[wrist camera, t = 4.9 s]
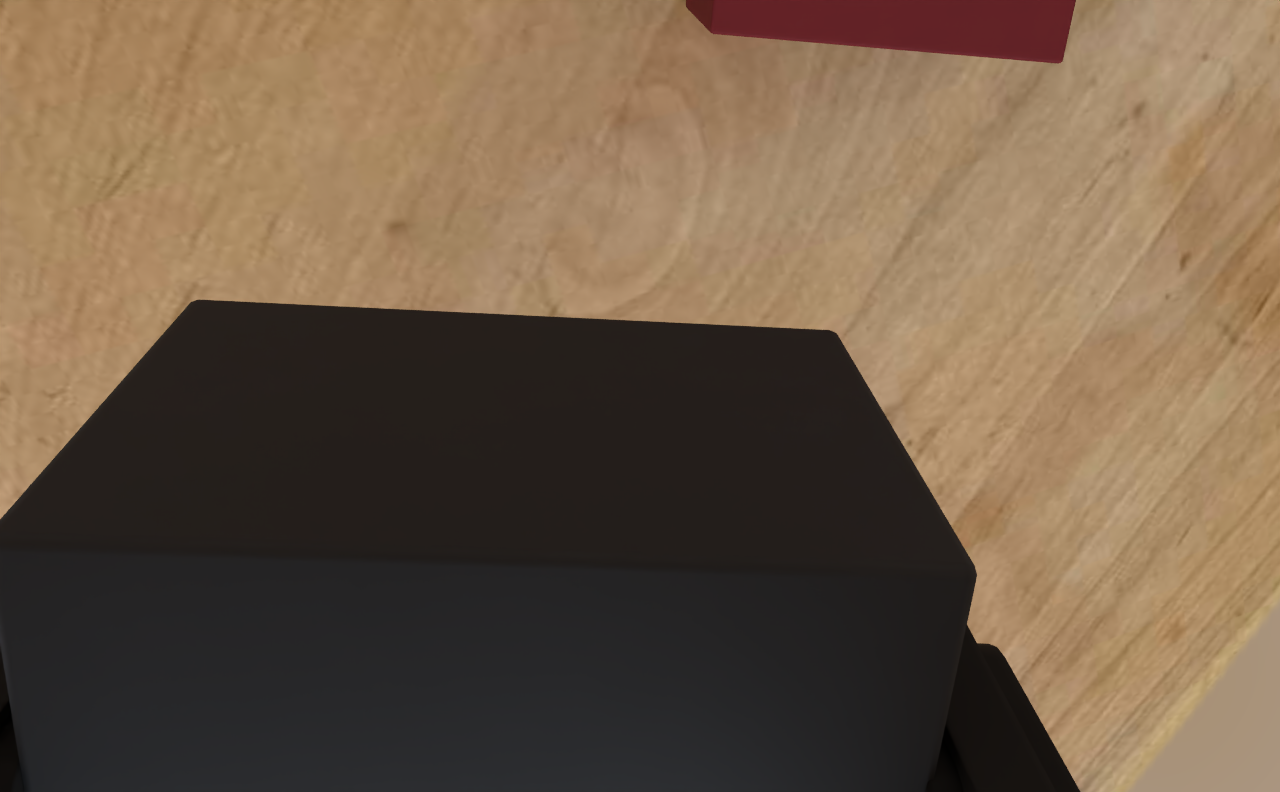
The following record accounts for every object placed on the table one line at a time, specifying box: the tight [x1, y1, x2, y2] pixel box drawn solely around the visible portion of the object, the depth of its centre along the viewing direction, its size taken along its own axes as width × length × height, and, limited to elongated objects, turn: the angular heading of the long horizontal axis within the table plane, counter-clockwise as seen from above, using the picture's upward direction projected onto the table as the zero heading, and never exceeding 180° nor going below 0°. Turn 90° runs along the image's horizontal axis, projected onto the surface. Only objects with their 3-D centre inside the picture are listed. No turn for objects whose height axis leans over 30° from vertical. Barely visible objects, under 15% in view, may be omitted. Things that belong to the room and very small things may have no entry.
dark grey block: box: [0, 300, 977, 792], centre depth 10 cm, size 6×6×4 cm
